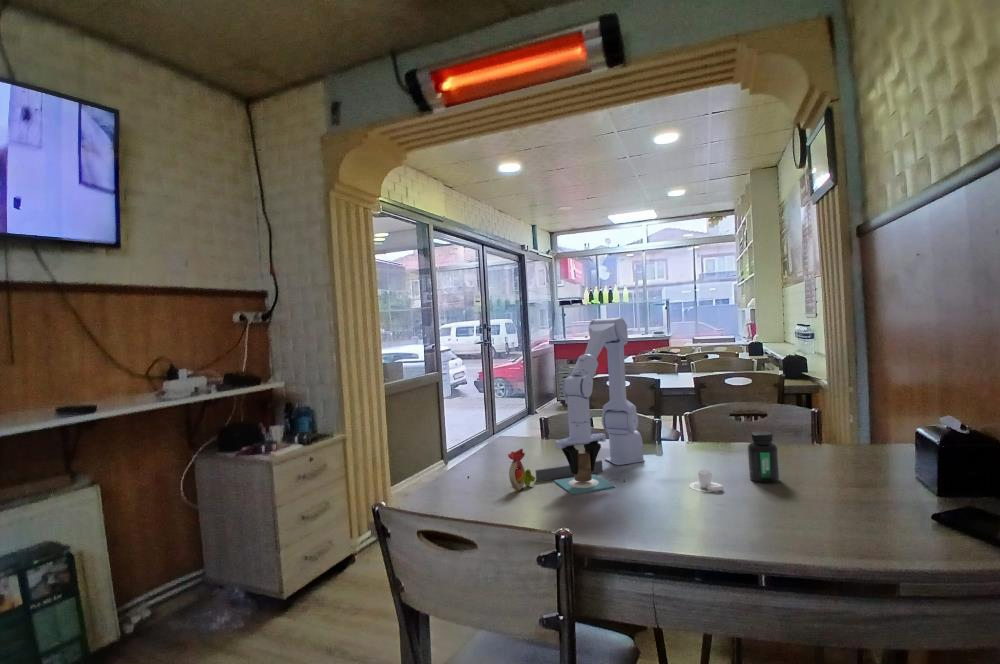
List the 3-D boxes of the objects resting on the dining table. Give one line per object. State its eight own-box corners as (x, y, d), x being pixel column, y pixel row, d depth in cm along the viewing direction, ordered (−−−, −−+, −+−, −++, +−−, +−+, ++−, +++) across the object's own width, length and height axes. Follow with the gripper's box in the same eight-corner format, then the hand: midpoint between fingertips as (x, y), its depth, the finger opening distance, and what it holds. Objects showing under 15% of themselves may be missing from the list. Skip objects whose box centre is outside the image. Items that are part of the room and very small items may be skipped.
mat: (593, 475, 146) (593, 473, 146) (614, 487, 134) (614, 485, 134) (554, 481, 142) (554, 479, 142) (572, 494, 131) (571, 492, 131)
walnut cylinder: (585, 475, 141) (584, 450, 141) (595, 479, 137) (593, 453, 137) (571, 478, 139) (569, 452, 139) (580, 482, 135) (578, 456, 135)
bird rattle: (529, 499, 135) (538, 476, 143) (521, 466, 131) (530, 444, 139) (507, 498, 138) (517, 476, 145) (498, 465, 133) (509, 444, 141)
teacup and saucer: (727, 494, 125) (726, 477, 125) (692, 494, 126) (691, 478, 126) (719, 483, 133) (718, 467, 133) (687, 483, 135) (686, 467, 135)
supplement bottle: (772, 485, 127) (769, 437, 127) (744, 480, 133) (742, 433, 133) (784, 479, 132) (781, 432, 132) (757, 474, 137) (754, 429, 137)
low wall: (601, 470, 150) (600, 460, 150) (602, 471, 149) (602, 460, 149) (536, 480, 144) (535, 469, 144) (537, 481, 144) (536, 470, 143)
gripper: (594, 415, 144) (597, 464, 145) (548, 422, 139) (551, 472, 139) (608, 419, 138) (612, 469, 138) (561, 426, 132) (564, 479, 132)
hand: (582, 471), depth 138 cm, fingers closed on walnut cylinder, 4 cm apart
